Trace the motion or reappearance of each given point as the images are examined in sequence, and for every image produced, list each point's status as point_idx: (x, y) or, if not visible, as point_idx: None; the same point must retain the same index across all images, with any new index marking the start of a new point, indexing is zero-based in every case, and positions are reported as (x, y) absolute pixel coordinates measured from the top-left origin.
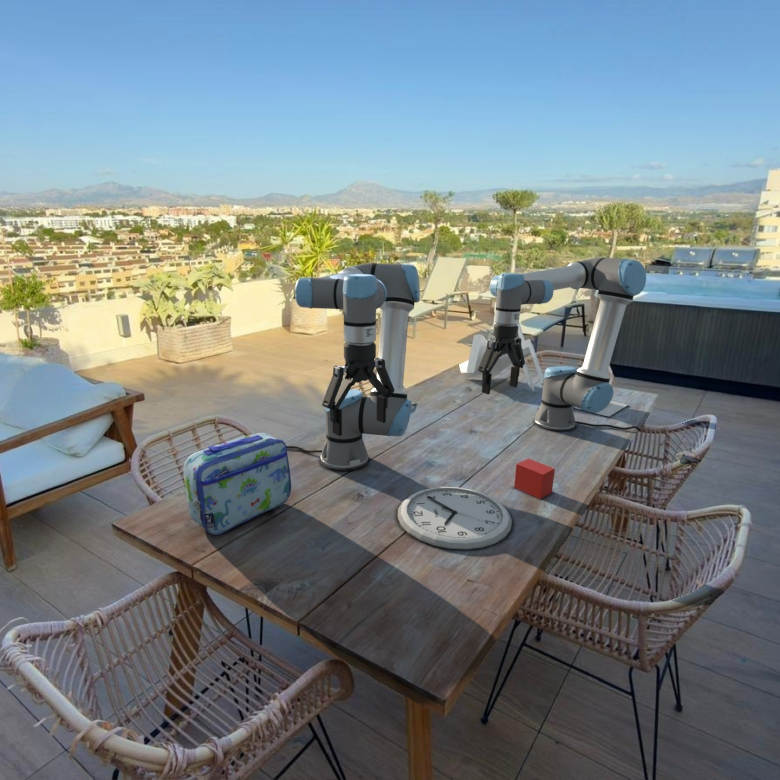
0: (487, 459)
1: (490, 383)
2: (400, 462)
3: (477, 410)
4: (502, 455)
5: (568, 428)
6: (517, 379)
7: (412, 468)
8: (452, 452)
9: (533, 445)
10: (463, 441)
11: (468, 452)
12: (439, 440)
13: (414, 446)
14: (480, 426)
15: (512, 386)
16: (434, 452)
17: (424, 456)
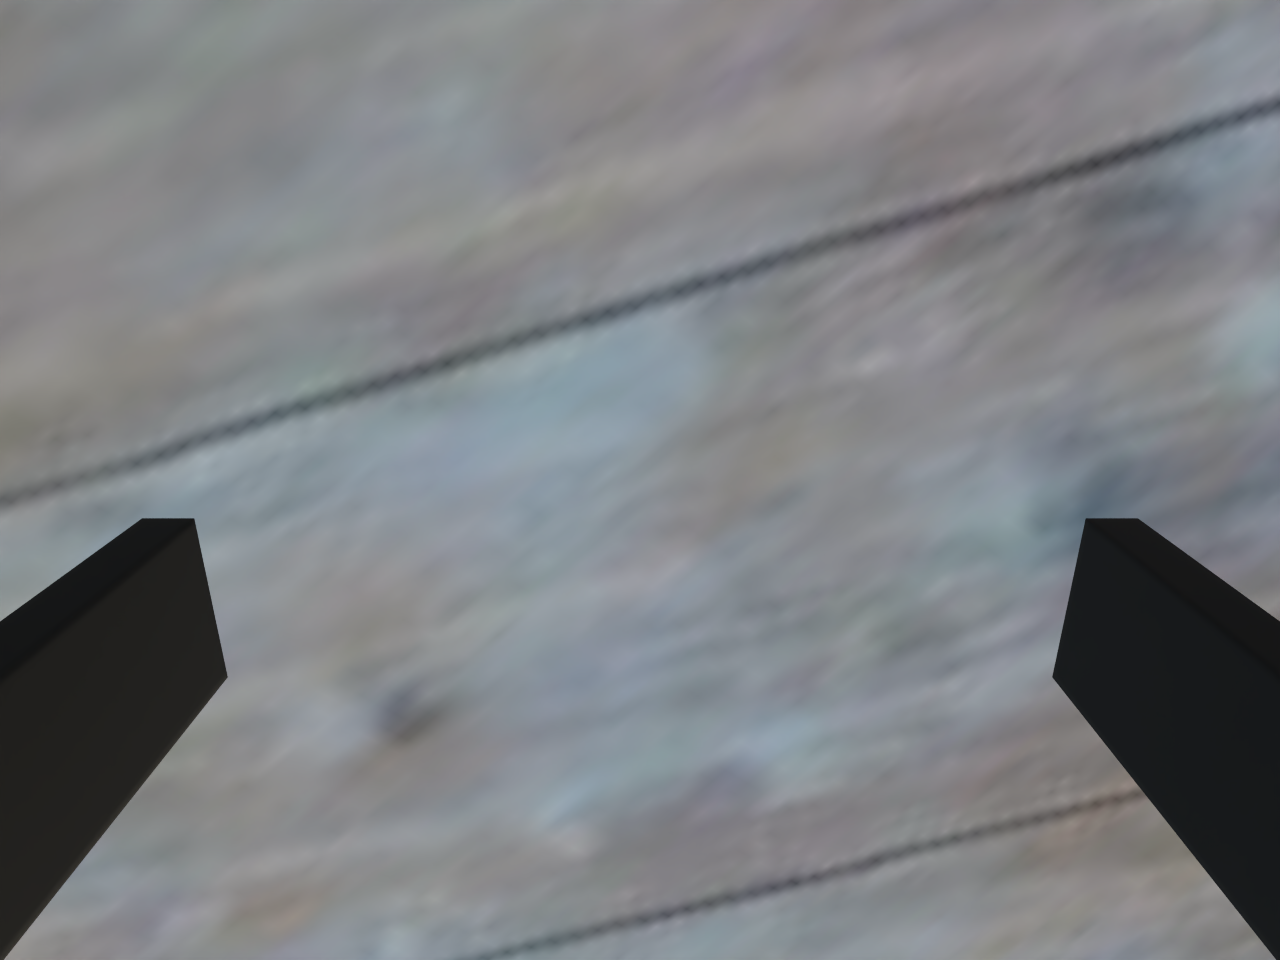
0: (711, 314)
1: (1257, 651)
2: None
3: (87, 946)
4: (552, 292)
5: None
6: (38, 616)
7: (1231, 525)
8: (819, 551)
9: (160, 267)
10: (603, 636)
11: (726, 486)
12: (729, 734)
13: (938, 752)
14: (284, 749)
15: (211, 604)
16: (915, 619)
17: (1018, 611)
